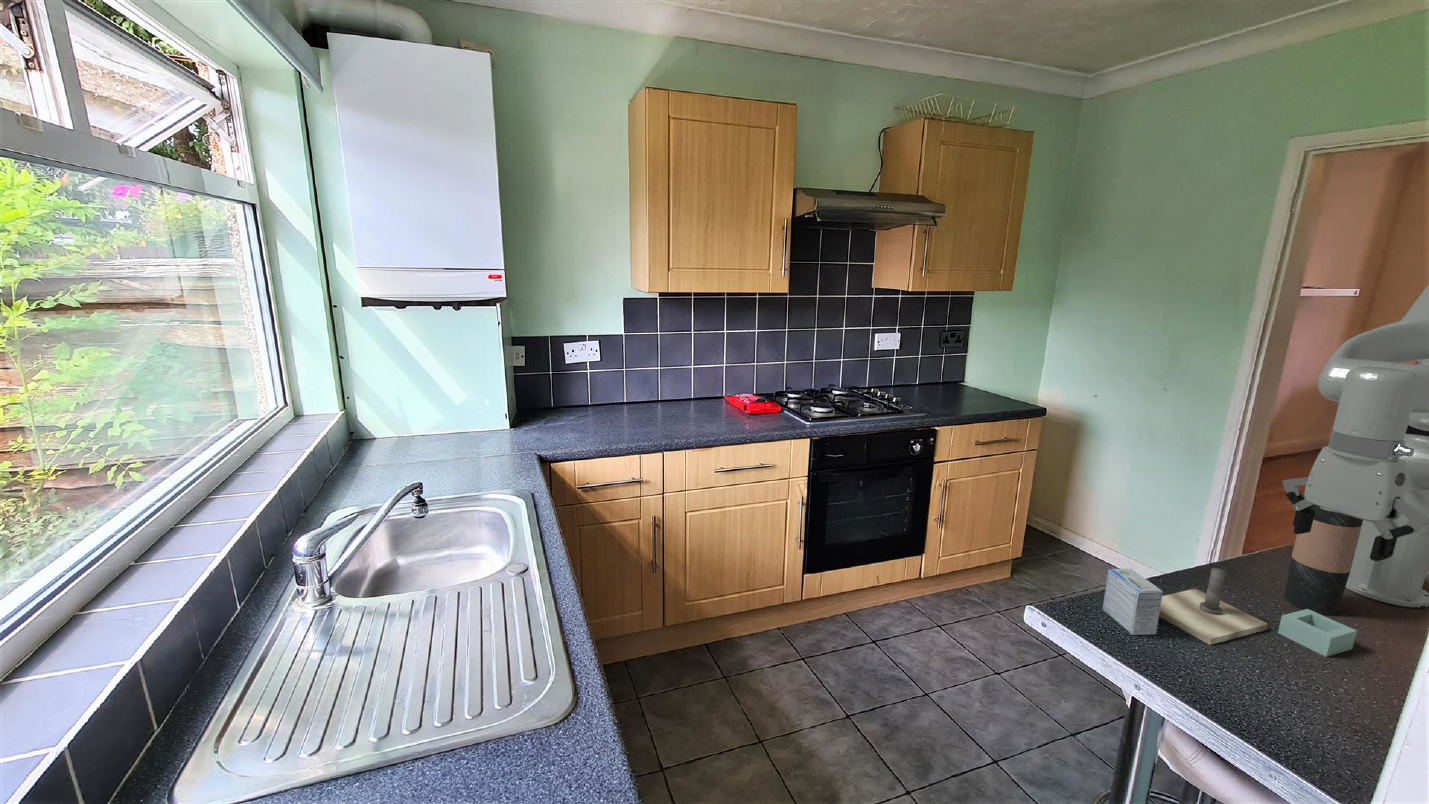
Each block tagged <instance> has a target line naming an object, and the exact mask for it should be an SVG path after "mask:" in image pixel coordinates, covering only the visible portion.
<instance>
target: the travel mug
mask: <svg viewBox="0 0 1429 804" xmlns="http://www.w3.org/2000/svg"><path fill="white" fill-rule="evenodd" d="M1312 510H1314V512H1315V515H1314V519H1313V523H1312V527H1311V531H1310V532H1308V533H1303V534H1296V538H1295V541H1294V544H1293V549H1292V553H1291V557H1290V561H1289V567H1288V573H1287V578H1286V582H1285V590H1284V595H1283V598H1284V599H1285V602H1287V603H1288V604H1291V605H1292V606H1294V607H1296V608H1299V609H1301V610H1305V609H1309V610H1311V611H1314V612H1316V613H1318V614H1320V615H1323V616H1324V615H1325V616H1332V615H1336V614H1337V612H1338V611H1339V607H1340V605H1341V602H1342V599H1343V595H1344V592H1345V589H1346V584H1347V580H1348V577H1349V574H1350V571H1351V567H1352V563H1353V559H1354V555H1355V551H1356V547H1357V543H1358V539H1359V535H1360V531H1361V527H1362V523H1363V520H1362V519H1358V518H1355V517H1352V516H1348V515H1345V514H1342V513H1338V512H1335V511H1332V510H1328V509H1325V508H1322V507H1319V506H1315V507H1313V508H1312Z"/></svg>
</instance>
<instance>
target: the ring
mask: <svg viewBox="0 0 1429 804" xmlns="http://www.w3.org/2000/svg"><path fill="white" fill-rule="evenodd" d="M1277 631H1278V632H1277V634H1278V633H1279V635H1280V634H1281V635H1280V636H1282V637H1284V636H1285V638H1286V639H1289V640H1291V641H1292V642H1295V643H1296V644H1299V645H1300V646H1303V647H1305V648H1308V649H1309V650H1311V651H1313V652H1315V653H1317V654H1319V655H1322V656H1323V657H1324V658H1325V657H1326V658H1327V657H1330V656H1334V655H1337V654H1340V653H1343V652H1346V651H1347V652H1348V651H1351V650H1353V647H1354V643H1355V640H1356V637H1357V633H1358V630H1357V629H1354V628H1352V627H1350V626H1348V625H1345V624H1343V623H1340V622H1338V621H1336V620H1333V619H1331V618H1330V617H1327V616H1326V615H1325V616H1324V615H1323V614H1318V613H1316V612H1314V611H1311V610H1309V609H1305V610H1303V609H1301V610H1298V611H1294V612H1290V613H1286V614H1283V615H1281V618H1280V623H1279V626H1278V630H1277Z"/></svg>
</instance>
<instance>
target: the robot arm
mask: <svg viewBox="0 0 1429 804" xmlns="http://www.w3.org/2000/svg"><path fill="white" fill-rule="evenodd" d="M1417 361H1422V362H1421V363H1420V364H1414V363H1413V364H1412V363H1408V362H1417ZM1317 389H1318V392H1319V393H1320V394H1321V396H1322V397H1324V398H1325V399H1327V400H1329V401H1332V402H1336V403H1338V406H1337V410H1336V412H1335V413H1336V415H1335V418H1334V422H1333V425H1332V430H1331V434H1330V437H1329V442H1328V445H1327V446H1326V445H1325V446H1323V447H1322V449H1321V450H1320V451H1319V453H1318V455H1317V457H1316V459H1315V461H1314V463H1313V465H1312V468H1311V470H1310V471H1309V474H1308V476H1307V477H1306V476H1305V477H1298V478H1288V479H1284V480H1282V486H1283V488H1284V491H1285V492H1286V493H1285V495H1286V498H1287V499H1288V501H1290V503H1291V504H1292V509H1293V510H1294V511H1295V513H1294V514H1295V515H1294V519H1293V521H1292V526H1293V527H1294V529H1293V533H1294V534H1296V535H1297V534H1303V533H1308V532H1310V531H1311V527H1312V523H1313V519H1314V515H1315V512H1314V510H1312V508H1313V507H1315V506H1319V507H1322V508H1325V509H1328V510H1332V511H1335V512H1338V513H1342V514H1345V515H1348V516H1352V517H1355V518H1358V519H1362V520H1363V523H1362V527H1361V531H1360V535H1359V539H1358V543H1357V547H1356V551H1355V555H1354V559H1353V563H1352V567H1351V571H1350V574H1349V577H1348V580H1347V584H1346V587H1345V589H1348V590H1350V591H1351V592H1353V593H1356V594H1359V595H1361V596H1364V597H1365V598H1369V599H1372V600H1375V601H1378V602H1382V603H1386V604H1390V605H1394V606H1395V605H1396V606H1399V607H1406V608H1415V607H1417V606H1419V605H1424V606H1425V607H1424V608H1427V607H1429V592H1428V591H1426V590H1425V589H1423V586H1424V583H1425V580H1426V579H1428V578H1429V436H1427V435H1421V434H1413V433H1412V434H1410V433H1407V431H1408V426H1409V427H1411V428H1415V429H1417V430H1421V431H1424V432H1425V431H1426V432H1429V284H1428V285H1427V286H1426V287H1425V288H1424V290H1423V291H1422V292H1421V294H1420V295H1419V296H1418V298H1417V299H1416V300H1415V301H1414V303H1413V304H1412V305H1411V307H1410V309H1409V310H1408V311H1407V313H1406V314H1405V315H1404V316H1403V318H1402V319H1401V320H1400V321H1399V320H1398V321H1396V322H1391V323H1389V324H1385V325H1382V326H1378V327H1376V328H1374V329H1373V328H1372V329H1371V330H1370V329H1369V330H1368V331H1364V332H1362V333H1360V334H1357V335H1355V336H1353V337H1351V338H1349V339H1348V340H1346V341H1345V342H1343V343H1342V344H1340V346H1339V347H1338V348H1337V349H1336V350H1335V352H1334V353H1333V354H1332V355H1331V356H1330V358H1329V359H1328V360H1327V362H1326V364H1325V365H1324V366H1323V368H1322V370H1321V372H1320V374H1319V376H1318V380H1317ZM1299 486H1305V487H1304V494H1303V495H1302V493H1301V492H1300V491H1299ZM1417 608H1418V607H1417Z"/></svg>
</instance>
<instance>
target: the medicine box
mask: <svg viewBox="0 0 1429 804" xmlns="http://www.w3.org/2000/svg"><path fill="white" fill-rule="evenodd" d="M1105 583H1106V584H1105V588H1104V589H1105V591H1104V597H1103V603H1102V611H1104V612H1105V613H1106V614H1107V615H1108V616H1110V618H1112V619H1113V620H1115V622H1117V623H1118V624H1119V625H1120V626H1121V627H1123V628H1124V629H1125V630H1126V631H1127V632H1128V633H1129V634H1130V635H1131V636H1148V635H1156V634H1157V630H1158V624H1159V612H1160V606H1161V600H1162V596H1163V590H1162V589H1160V588H1159V587H1157V585H1155V584H1154V583H1152V582H1151V581H1149V580H1148V579H1146V577H1144V576H1142V575H1141V574H1140V573H1138V572H1137V571H1135V570H1134V569H1132V568H1109V569H1108V571H1107V577H1106V582H1105Z"/></svg>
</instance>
